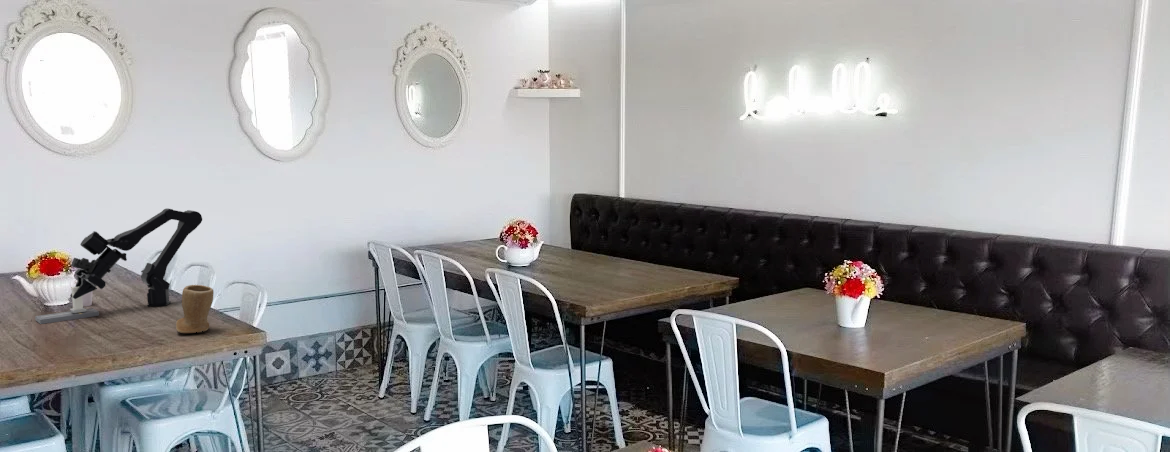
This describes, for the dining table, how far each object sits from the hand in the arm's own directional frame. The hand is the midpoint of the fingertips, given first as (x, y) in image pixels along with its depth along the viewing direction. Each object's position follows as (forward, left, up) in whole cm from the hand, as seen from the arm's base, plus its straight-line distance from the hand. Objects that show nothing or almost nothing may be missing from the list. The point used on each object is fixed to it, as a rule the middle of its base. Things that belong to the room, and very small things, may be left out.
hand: (72, 297), depth 303 cm
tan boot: (-51, +28, -7) cm, 58 cm away
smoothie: (+5, -21, -7) cm, 23 cm away
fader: (-1, -1, -5) cm, 5 cm away
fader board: (+2, +1, -7) cm, 7 cm away
